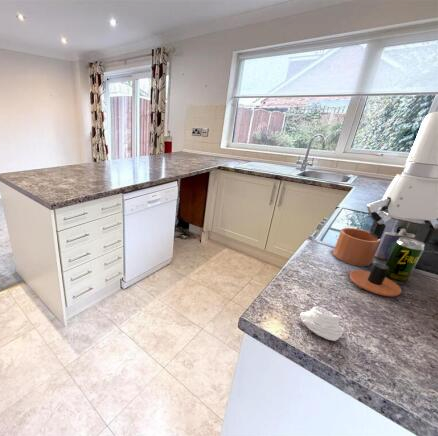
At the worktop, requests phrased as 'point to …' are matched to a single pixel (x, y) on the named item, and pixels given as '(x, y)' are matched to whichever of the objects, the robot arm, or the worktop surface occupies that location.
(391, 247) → the flask
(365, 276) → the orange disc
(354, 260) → the pot
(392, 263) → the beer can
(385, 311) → the worktop surface
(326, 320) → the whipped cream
